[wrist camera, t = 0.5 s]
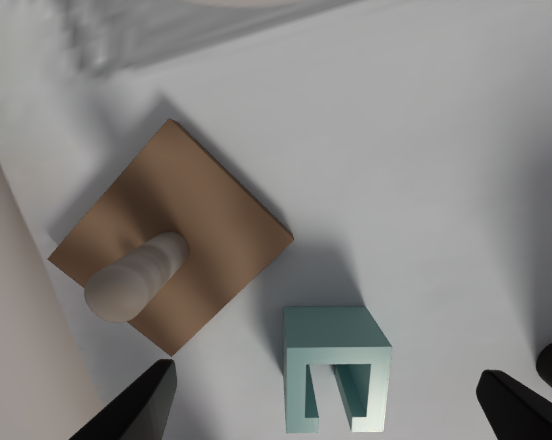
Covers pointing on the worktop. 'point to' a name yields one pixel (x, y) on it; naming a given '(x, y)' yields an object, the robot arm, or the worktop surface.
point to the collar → (349, 365)
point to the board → (186, 209)
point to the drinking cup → (545, 365)
